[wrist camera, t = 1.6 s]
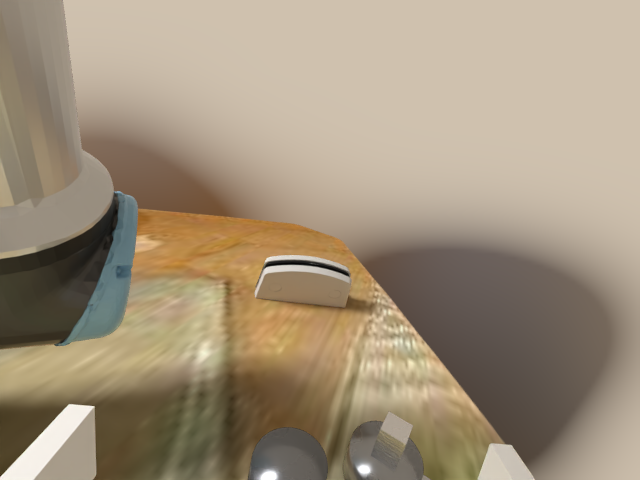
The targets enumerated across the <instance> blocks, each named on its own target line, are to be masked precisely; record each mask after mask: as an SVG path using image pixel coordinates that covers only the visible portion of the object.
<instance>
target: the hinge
mask: <svg viewBox="0 0 640 480" xmlns="http://www.w3.org/2000/svg"><path fill="white" fill-rule="evenodd" d="M350 288H351V278H350V272H349V269H348V268H347V267H345V266H343V265H341V264H338V263H335V262H333V261H329V260H326V259H321V258H316V257H310V256H299V255H284V256H273V257H268V258H267V259H266V261H265V263H264V266H263V269H262V271H261V274H260V276H259V279H258V282H257V284H256V291H255V298H259V299H268V300H277V301H287V302H296V303H305V304H314V305H324V306H333V307H342V308H345V307H346V303H347V299H348V295H349V292H350Z"/></svg>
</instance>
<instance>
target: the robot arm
mask: <svg viewBox="0 0 640 480" xmlns="http://www.w3.org/2000/svg"><path fill="white" fill-rule="evenodd" d="M137 218H138V207H137V202H136V200H135V199H134V198H133V197H132V196H129V195H125V194H123V193H121V192H119V191H118V192H114V189H113V183H112V180H111V177H110V174H109V172H108V171H107V169H106V168H105V167H104V166H103V165H102V164H101V163H100V162H99V161H98V160H97V159H96V158H94V157H93V156H92V155H90V154H88V153H87V152H85V151H84V150H82V147H81V140H80V131H79V124H78V115H77V108H76V99H75V92H74V84H73V76H72V69H71V61H70V54H69V45H68V37H67V29H66V21H65V14H64V5H63V0H0V350H1V349H11V348H21V347H32V346H43V345H53V344H54V345H55V346H65V345H67V344H70V343H71V342H75V341H82V340H89V339H95V338H101V337H105V336H107V335H109V334H111V333H112V332H114V331H115V330H116V329H117V328H118V327H119V326H120V324H121V322H122V320H123V318H124V315H125V311H126V306H127V301H128V296H129V290H130V283H131V268H132V266H133V258H134V253H135V244H136V234H137ZM95 476H96V441H95V406H85V405H74V404H69V405H68V406H67V407H66V408H65V409H64V410H63V411H62V412H61V413H60V414H59V415H58V416H57V417H56V418H55V420H54V421H53V422H52V423H51V424H50V425H49V426H48V427H47V428H46V429H45V430H44V431H43V432H42V433H41V434H40V435H39V437H38V438H37V439H36V440H35V441H34V442H33V443H32V444H31V445H30V446H29V447H28V448H27V449H26V450H25V451H24V452H23V454H22V455H21V456H20V457H19V458H18V459H17V460H16V461H15V462H14V463H13V464H12V465H11V466H10V467H9V468H8V469H7V470H6V472H5V473H4V474H3V475H2V476H1V477H0V480H93V479H94V477H95ZM478 480H535V479H534V477H533V476H532V474H531V473H530V471H529V470H528V468H527V467H526V466H525V464H524V463H523V461H522V460H521V458H520V457H519V455H518V454H517V453H516V451H515V450H514V448H513V447H512V446H511V445H505V444H494V443H490V445H489V448H488V451H487V454H486V457H485V460H484V463H483V465H482V468H481V471H480V474H479V477H478Z"/></svg>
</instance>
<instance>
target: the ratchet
mask: <svg viewBox="0 0 640 480" xmlns="http://www.w3.org/2000/svg"><path fill="white" fill-rule="evenodd" d="M412 427H413V425H411V424H409V423H408V422H406V421H404V420H403V419H401V418H399V417H398V416H396V415H394V414H393V413H391V412H388V414H387V416H386V418H385V420H384V422H381V421H370V422H366V423H363V424H361V425H360V426H358V427H357V428H356V430H355V431H354V433H353V435H352V437H351V440H350V443H349V446H348V449H347V452H346V455H345V459H344V464H343V471H344V477H345V480H431V479H429V478H428V477H426V476H425V475H423V470H424V468H423V461H422V458H421V455H420V453H419V451H418V449H417V447H416V445H415V444H414V443H413V441H412V440H411V439H410V438H409V435H410V433H411V430H412Z"/></svg>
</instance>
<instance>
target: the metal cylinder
mask: <svg viewBox="0 0 640 480" xmlns="http://www.w3.org/2000/svg"><path fill="white" fill-rule="evenodd" d="M327 473H328V464H327V458H326V455H325V452H324V450H323V448H322V447H321V445H320V444H319V442H318V441H317V440H316V439H315V438H314V437H313V436H311V435H310V434H308V433H307V432H305V431H303V430H300V429H297V428H290V427H284V428H279V429H275V430H273V431H271V432H269V433H267V434H266V435H265V436H263V437H262V438H261V439H260V441H259V442H258V443H257V445H256V447H255V449H254V451H253V455H252V459H251V465H250V470H249V475H248V480H326V478H327Z"/></svg>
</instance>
